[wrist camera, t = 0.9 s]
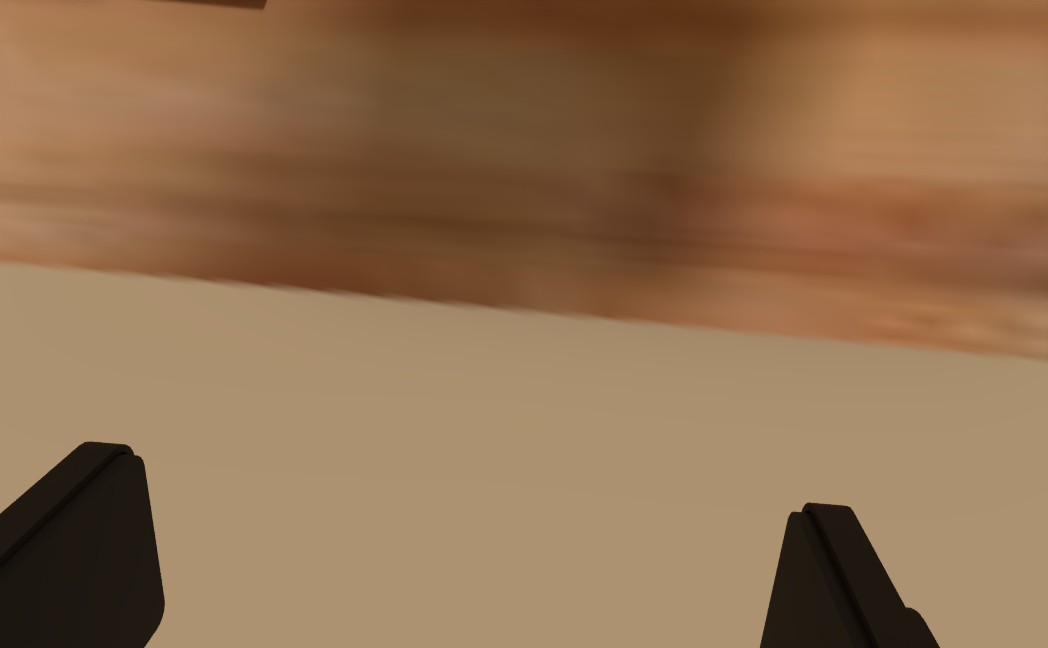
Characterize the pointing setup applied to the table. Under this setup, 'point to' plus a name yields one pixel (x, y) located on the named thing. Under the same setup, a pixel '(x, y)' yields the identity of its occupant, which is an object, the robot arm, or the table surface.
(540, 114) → the table surface
